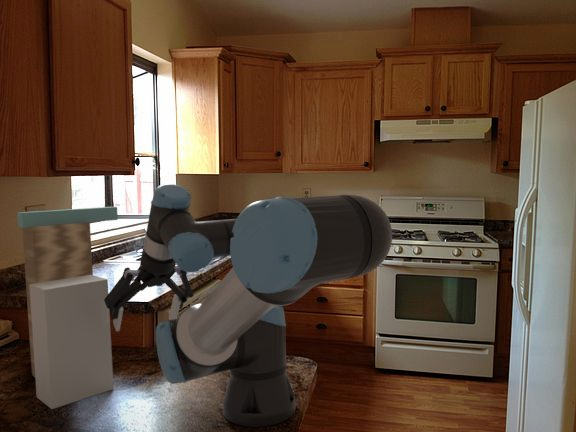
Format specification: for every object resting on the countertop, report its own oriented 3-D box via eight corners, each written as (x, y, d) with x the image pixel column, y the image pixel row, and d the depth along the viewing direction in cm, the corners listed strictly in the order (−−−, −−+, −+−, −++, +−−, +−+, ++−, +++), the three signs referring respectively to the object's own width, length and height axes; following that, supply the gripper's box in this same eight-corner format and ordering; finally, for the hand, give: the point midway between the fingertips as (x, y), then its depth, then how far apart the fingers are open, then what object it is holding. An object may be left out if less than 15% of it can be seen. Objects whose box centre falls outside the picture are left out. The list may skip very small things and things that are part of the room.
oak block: (86, 360, 139) (78, 221, 136) (97, 366, 134) (89, 222, 131) (32, 375, 129) (22, 226, 126) (42, 382, 124) (32, 227, 121)
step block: (96, 378, 126) (90, 274, 124) (113, 388, 119) (107, 279, 117) (36, 397, 116) (29, 284, 114) (51, 409, 109) (44, 289, 107)
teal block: (111, 219, 141) (111, 206, 141) (117, 219, 138) (117, 207, 138) (18, 226, 124) (17, 212, 124) (23, 227, 122) (22, 212, 121)
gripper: (206, 237, 120) (188, 304, 130) (97, 244, 106) (86, 319, 116) (219, 256, 115) (199, 325, 125) (106, 266, 101) (94, 343, 111)
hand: (145, 322), depth 121 cm, fingers open, 13 cm apart
